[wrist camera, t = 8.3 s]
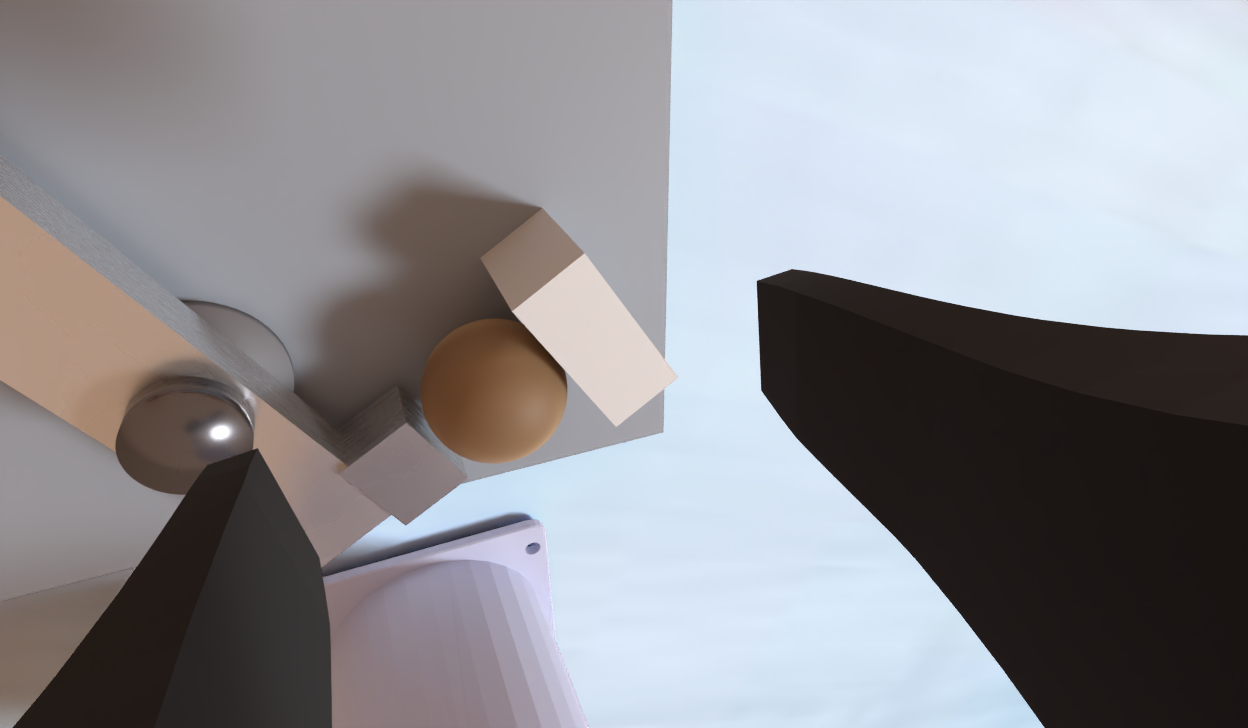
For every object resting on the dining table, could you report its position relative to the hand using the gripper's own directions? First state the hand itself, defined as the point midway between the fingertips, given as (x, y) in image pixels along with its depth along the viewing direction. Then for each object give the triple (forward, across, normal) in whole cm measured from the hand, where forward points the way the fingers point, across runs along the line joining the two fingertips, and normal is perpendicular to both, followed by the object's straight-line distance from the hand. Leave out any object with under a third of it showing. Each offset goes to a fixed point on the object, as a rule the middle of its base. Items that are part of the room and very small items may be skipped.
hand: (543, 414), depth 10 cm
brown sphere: (+9, 0, +4) cm, 10 cm away
